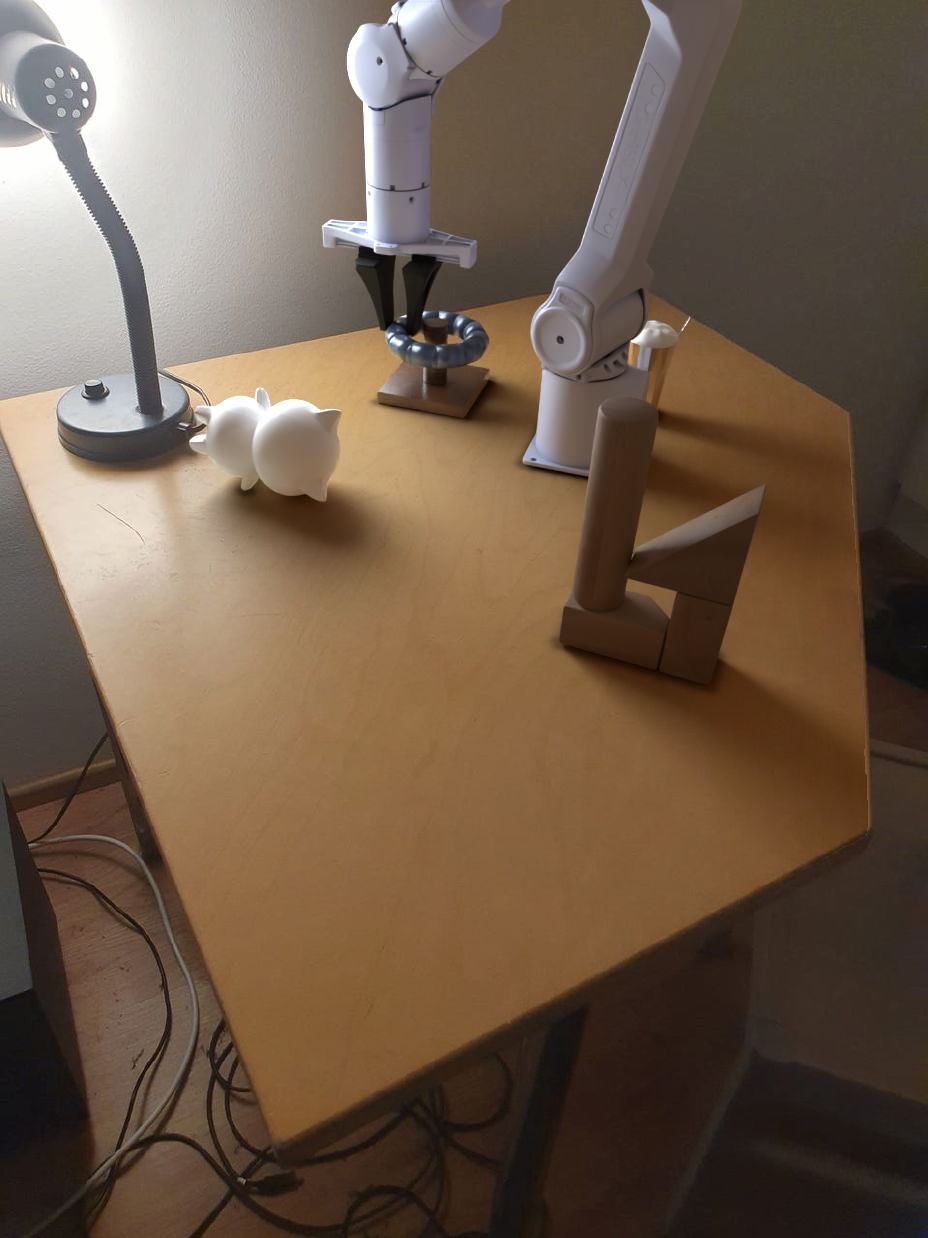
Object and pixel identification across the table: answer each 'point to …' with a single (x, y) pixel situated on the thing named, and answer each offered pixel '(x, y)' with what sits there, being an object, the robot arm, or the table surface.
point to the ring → (439, 354)
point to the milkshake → (654, 355)
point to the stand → (434, 381)
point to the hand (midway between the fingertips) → (400, 329)
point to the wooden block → (651, 559)
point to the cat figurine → (272, 443)
